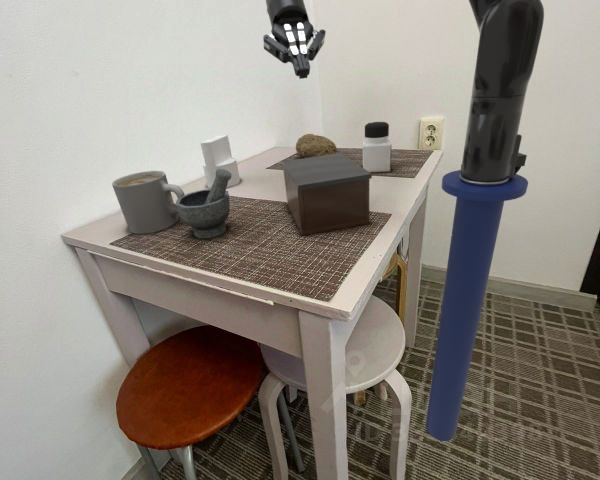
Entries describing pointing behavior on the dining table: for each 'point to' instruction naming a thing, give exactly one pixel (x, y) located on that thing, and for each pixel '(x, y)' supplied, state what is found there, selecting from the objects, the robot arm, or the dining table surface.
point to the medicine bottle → (377, 147)
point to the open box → (328, 205)
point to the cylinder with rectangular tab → (219, 159)
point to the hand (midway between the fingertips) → (304, 74)
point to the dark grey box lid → (324, 171)
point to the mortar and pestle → (207, 207)
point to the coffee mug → (147, 201)
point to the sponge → (315, 146)
